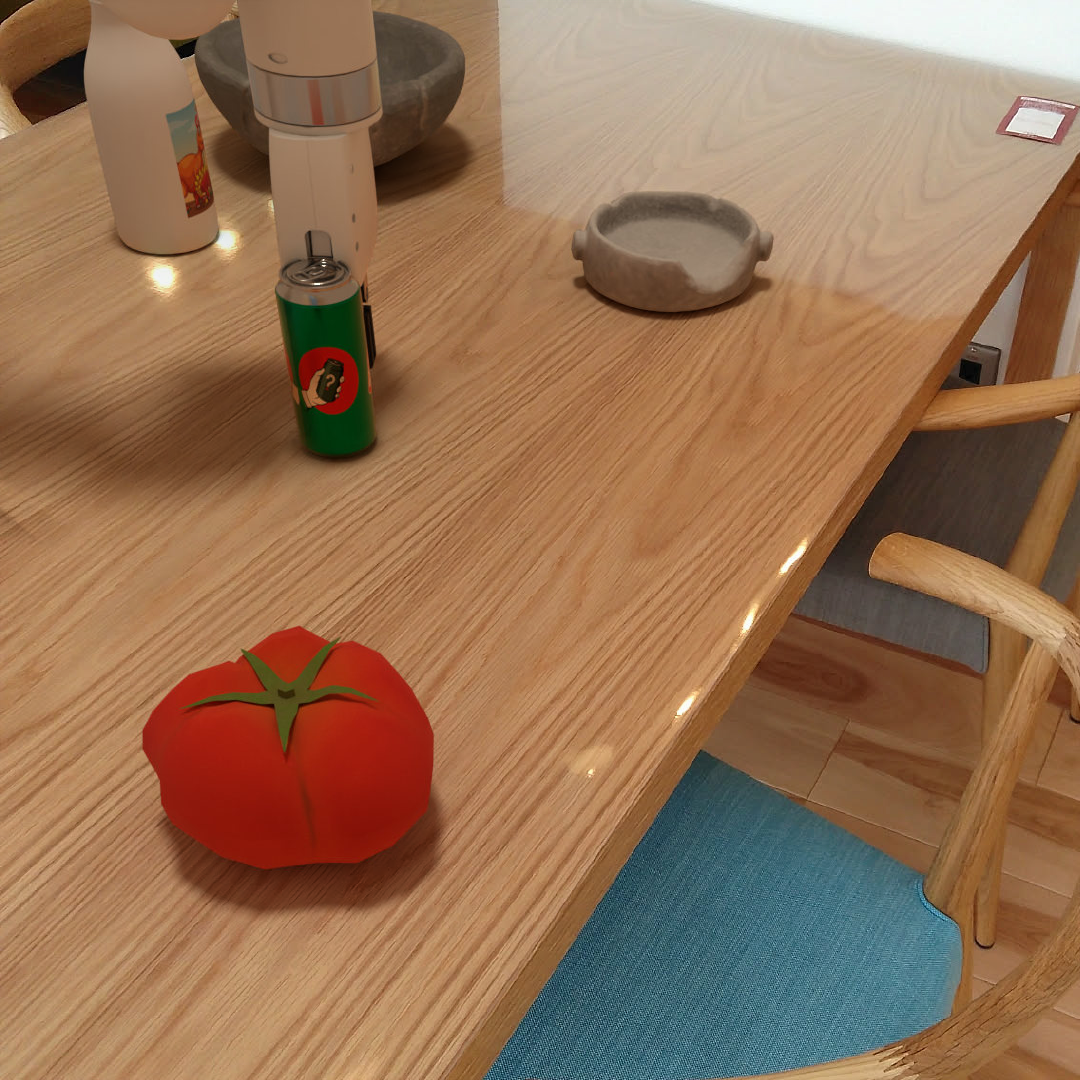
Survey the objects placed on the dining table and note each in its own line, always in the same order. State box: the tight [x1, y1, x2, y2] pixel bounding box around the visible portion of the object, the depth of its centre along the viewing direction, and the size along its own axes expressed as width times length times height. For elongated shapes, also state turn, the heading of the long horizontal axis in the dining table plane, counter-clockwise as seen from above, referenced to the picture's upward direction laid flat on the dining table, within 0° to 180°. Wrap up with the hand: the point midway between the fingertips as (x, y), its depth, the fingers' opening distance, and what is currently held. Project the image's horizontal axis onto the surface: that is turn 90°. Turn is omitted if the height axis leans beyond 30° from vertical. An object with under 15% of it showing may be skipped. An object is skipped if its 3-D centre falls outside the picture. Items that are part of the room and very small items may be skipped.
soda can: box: [274, 256, 378, 459], centre depth 88 cm, size 5×5×12 cm
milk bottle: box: [83, 0, 220, 255], centre depth 104 cm, size 8×8×20 cm
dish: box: [571, 190, 775, 313], centre depth 111 cm, size 14×14×5 cm
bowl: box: [194, 10, 466, 168], centre depth 122 cm, size 23×22×10 cm
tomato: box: [141, 625, 435, 870], centre depth 66 cm, size 14×13×9 cm
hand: (351, 362), depth 95 cm, fingers closed
